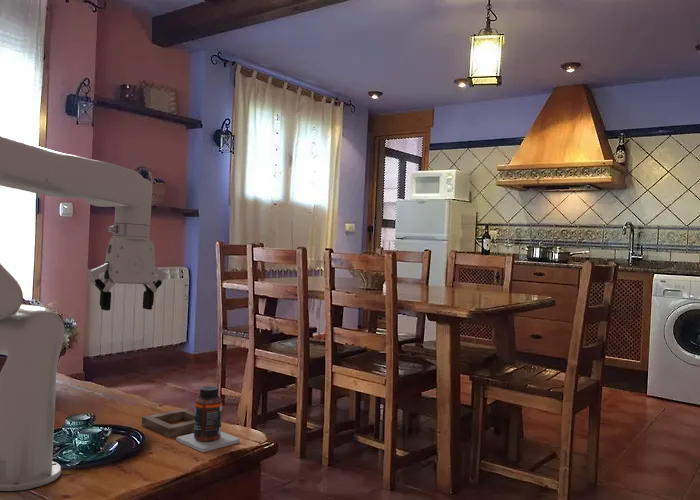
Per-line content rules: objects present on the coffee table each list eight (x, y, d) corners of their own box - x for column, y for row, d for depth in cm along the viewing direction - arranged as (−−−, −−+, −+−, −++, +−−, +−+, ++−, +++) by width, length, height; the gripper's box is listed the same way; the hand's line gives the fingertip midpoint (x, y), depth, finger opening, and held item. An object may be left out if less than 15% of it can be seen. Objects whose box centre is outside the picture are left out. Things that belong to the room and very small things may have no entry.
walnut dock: (168, 437, 133) (169, 428, 133) (141, 425, 141) (142, 416, 141) (212, 427, 142) (213, 418, 142) (184, 416, 150) (185, 408, 150)
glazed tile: (202, 452, 124) (202, 448, 124) (176, 440, 131) (176, 437, 131) (239, 442, 132) (239, 438, 132) (213, 431, 139) (213, 428, 139)
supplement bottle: (226, 437, 132) (228, 387, 132) (207, 444, 127) (209, 392, 127) (207, 432, 135) (209, 383, 136) (187, 438, 130) (190, 388, 130)
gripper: (100, 229, 121) (95, 312, 121) (175, 235, 134) (170, 310, 134) (85, 229, 127) (80, 308, 126) (159, 235, 139) (154, 307, 139)
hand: (126, 309), depth 130 cm, fingers open, 9 cm apart
